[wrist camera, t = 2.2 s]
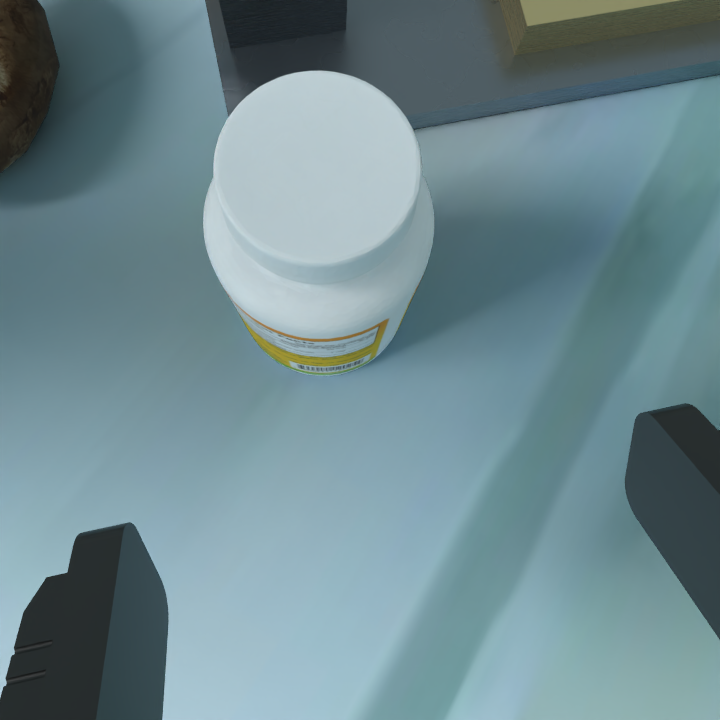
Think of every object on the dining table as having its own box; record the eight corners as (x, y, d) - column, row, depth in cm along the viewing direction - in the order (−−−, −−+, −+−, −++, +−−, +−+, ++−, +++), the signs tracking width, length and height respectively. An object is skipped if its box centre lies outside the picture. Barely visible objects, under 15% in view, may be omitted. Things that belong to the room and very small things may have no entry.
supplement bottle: (320, 190, 23) (314, -18, 13) (436, 296, 22) (518, 160, 13) (207, 300, 22) (111, 164, 12) (325, 412, 21) (322, 362, 12)
